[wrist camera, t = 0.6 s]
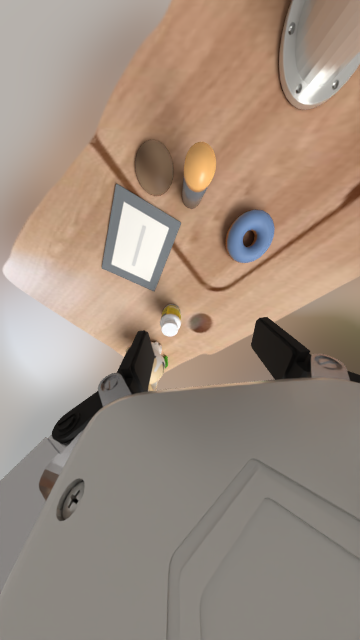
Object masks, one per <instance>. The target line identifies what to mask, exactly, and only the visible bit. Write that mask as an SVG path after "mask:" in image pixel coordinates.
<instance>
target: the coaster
mask: <svg viewBox="0 0 360 640" xmlns="http://www.w3.org/2000/svg"><path fill="white" fill-rule="evenodd" d="M135 169H136V174H137V178H138V180H139V182H140V184H141V186H142V187H143V189H144V190H145V191H146V192H148V193H149V194H151V195H154V196H159V195H162V194H164V193H165V192H166V191H167V190H168V189H169V187H170V185H171V183H172V179H173V163H172V159H171V156H170V153H169V152H168V150H167V148H166V147H165V146H164V145H163V144H162V143H160V142H159V141H156V140H148V141H146V142H144V143H143V144H142V145H141V146H140V148H139V150H138V152H137V155H136V160H135Z"/></svg>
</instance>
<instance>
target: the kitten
mask: <svg viewBox="0 0 360 640" xmlns="http://www.w3.org/2000/svg"><path fill="white" fill-rule="evenodd" d="M151 344H152V348H153V351H154V355H155V358H154V363H153V368H152V373H151V378H150V383H149V387H148V389H149V391H156V388H157V384H158V380H159V379H160V378H161V377H162V375H163V373H164V370H165V368H166V367H167V366H168V359H167V358H168V357H167V356H165V357H163V356H162V355H160V354H161V351H162V346H161V344H159V345H158V342H155V343H154V342H151ZM130 347H131V346H130ZM128 349H129V347H128V348H127V349H126V353H127V351H128Z"/></svg>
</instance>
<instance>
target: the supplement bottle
mask: <svg viewBox="0 0 360 640" xmlns="http://www.w3.org/2000/svg"><path fill="white" fill-rule="evenodd" d="M160 325H161V328H162V332H163V334H164V335H166V336H174V335H176V334H177V332H178V329H179V328H180V325H181V313H180V309H179V308H178V307H177V306H176V305H172V304H170V305H167V306H166V307H165V308H164V309H163V313H162V317H161V321H160Z"/></svg>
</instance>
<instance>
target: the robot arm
mask: <svg viewBox="0 0 360 640" xmlns="http://www.w3.org/2000/svg"><path fill="white" fill-rule="evenodd" d="M359 64H360V0H292V1H291V4H290V7H289V10H288V13H287V16H286V19H285V24H284V28H283V32H282V37H281V45H280V54H279V71H280V80H281V85H282V89H283V91H284V94H285V96H286V98H287V99H288V101H289V102H290V103H291V104H292V105H293V106H295V107H296V108H299V109H303V110H305V109H312V108H315V107H317V106H320V105H321V104H323V103H324V102H326V101H327V100H329V99H330V98H331V97H332V96H333V95H334V94H335V93H336V92H337V91H338V90H339V89H340V88H341V87H342V86H343V85H344V84H345V83H346V82H347V81H348V79H349V78H350V77H351V76H352V74H353V73H354V72H355V70H356V69H357V67H358V66H359ZM251 346H252V349H253V350H254V351H255V353H256V354H257V355H258V357H259V358H260V360H261V361H262V362H263V364H264V365H265V366H266V368H267V369H268V370H269V372H270V373H271V375H272V376H273V377H274V379H275V380H266V381H254V382H243V383H230V384H219V385H207V386H197V387H187V388H175V389H165V390H157V391H148V387H149V383H150V378H151V373H152V368H153V363H154V358H155V355H154V351H153V348H152V344H151V341H150V338H149V334H148V332H146V331H145V330H144V331H138V332H137V335H136V337H135V339H134V341H133V343H132V345H131V347H129V349H128V351H127V353H126V355H125V357H124V359H123V361H122V363H121V365H120V367H119V369H118V371H117V373H112V374H110V375H108V376H106V377H105V378H104V379H103V380H102V381H101V382H100V384H99V386H98V391H97V392H96V393H94V394H93V395H92V396H90V397H89V398H87V399H86V400H85V401H83V402H82V403H81V404H79V405H78V406H76V407H75V408H73V409H72V410H71V411H69V412H68V413H67V414H65V415H64V416H63V417H62V418H61V419H60V420H59V421H58V422H57V423H56V425H55V427H54V429H53V431H52V435H51V436H50V437H49V438H46V437H45V438H44V439H43V440H42V441H41V442H40V443H39V444H38V445H37V446H36V447H35V448H34V449H33V450H32V451H31V452H30V453H29V454H28V455H27V456H26V457H25V458H24V459H23V460H21V461H20V463H18V464H17V465H16V466H15V467H14V468H13V469H12V470H11V471H10V472H9V473H8V474H7V475H6V476H5V477H4V478H3V479H2V480H1V481H0V640H360V375H358V374H355V373H352V372H349V371H347V368H346V366H345V365H344V364H343V363H342V362H340V361H339V360H337V359H335V358H333V357H331V356H328V355H324V354H313V355H310V354H309V352H310V351H309V350H308V349H307V348H306V347H305V346H303V345H302V344H301V343H300V342H298V341H297V340H296V339H294V338H293V337H292V336H291V335H289V334H288V333H287V332H286V331H284V330H283V329H282V328H280V327H279V326H278V325H277V324H275V323H274V322H273V321H272V320H270V319H269V318H268V317H263V318H259V319H258V320H257V321H256V324H255V329H254V334H253V338H252V343H251Z"/></svg>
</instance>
